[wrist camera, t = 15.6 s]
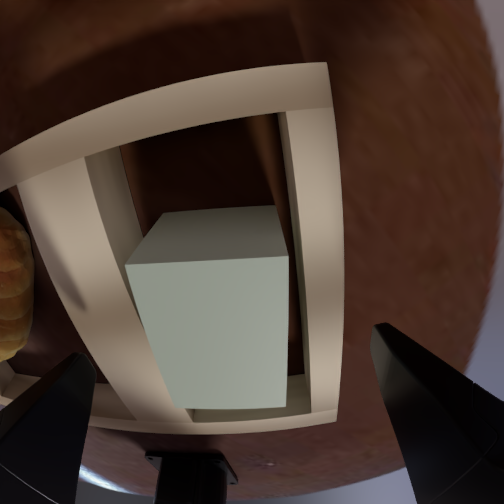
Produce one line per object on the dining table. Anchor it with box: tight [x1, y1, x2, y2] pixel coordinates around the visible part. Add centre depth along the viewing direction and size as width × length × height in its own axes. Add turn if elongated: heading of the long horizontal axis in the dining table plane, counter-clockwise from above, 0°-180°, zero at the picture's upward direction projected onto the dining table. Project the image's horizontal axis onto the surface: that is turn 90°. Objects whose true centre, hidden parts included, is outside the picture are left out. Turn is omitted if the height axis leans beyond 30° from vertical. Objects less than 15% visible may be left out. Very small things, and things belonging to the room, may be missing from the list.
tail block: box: [125, 205, 289, 409], centre depth 10 cm, size 6×4×4 cm, turn 3°
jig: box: [0, 62, 344, 434], centre depth 11 cm, size 14×31×2 cm, turn 99°
